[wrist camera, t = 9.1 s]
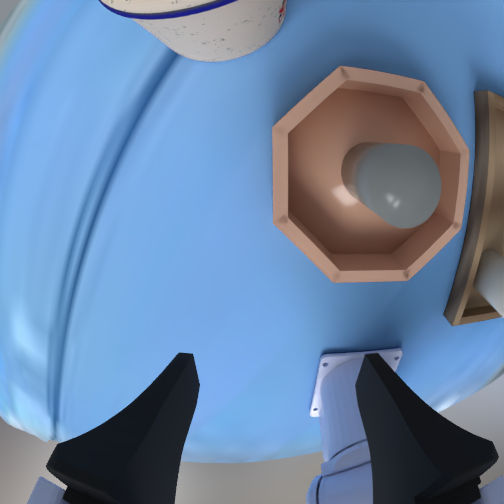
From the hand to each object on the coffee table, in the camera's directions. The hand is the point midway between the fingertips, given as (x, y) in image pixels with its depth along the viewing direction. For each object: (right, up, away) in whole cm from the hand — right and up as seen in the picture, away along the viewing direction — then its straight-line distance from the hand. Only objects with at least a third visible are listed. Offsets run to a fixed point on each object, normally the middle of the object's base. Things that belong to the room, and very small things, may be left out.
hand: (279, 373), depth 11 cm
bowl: (+6, +10, +6) cm, 14 cm away
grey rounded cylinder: (+6, +10, +5) cm, 13 cm away
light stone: (+20, +3, +7) cm, 21 cm away
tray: (+22, +8, +6) cm, 25 cm away
